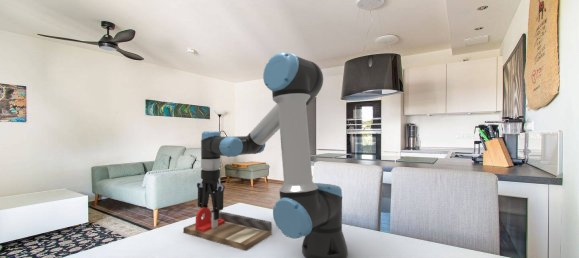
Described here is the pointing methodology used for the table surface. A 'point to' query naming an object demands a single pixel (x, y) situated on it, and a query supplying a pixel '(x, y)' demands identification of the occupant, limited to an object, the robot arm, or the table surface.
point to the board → (235, 231)
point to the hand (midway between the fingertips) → (210, 225)
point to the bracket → (205, 220)
